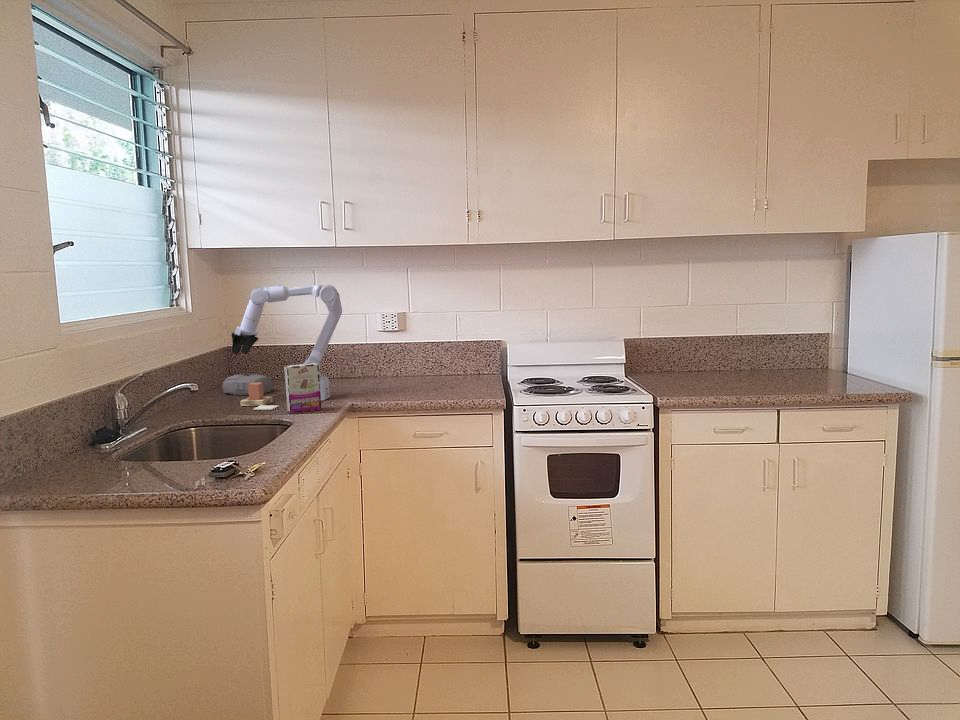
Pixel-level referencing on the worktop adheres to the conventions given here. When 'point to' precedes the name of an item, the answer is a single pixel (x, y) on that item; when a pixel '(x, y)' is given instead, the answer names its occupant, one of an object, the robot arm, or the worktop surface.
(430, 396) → the worktop surface
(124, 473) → the worktop surface
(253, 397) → the peg
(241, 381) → the grey rounded bag
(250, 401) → the pocket holder
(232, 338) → the robot arm
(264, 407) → the mat
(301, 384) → the candy bar box
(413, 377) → the worktop surface
